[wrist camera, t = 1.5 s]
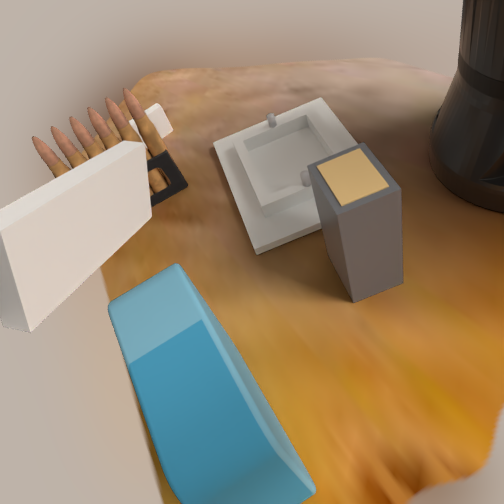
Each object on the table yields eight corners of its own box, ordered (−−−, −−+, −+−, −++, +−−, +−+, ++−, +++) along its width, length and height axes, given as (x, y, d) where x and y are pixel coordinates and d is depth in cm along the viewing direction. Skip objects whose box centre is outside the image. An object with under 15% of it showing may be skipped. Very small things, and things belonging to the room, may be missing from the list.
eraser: (137, 149, 54) (122, 124, 51) (169, 127, 55) (156, 102, 52) (141, 153, 53) (127, 128, 51) (173, 131, 54) (161, 106, 52)
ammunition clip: (183, 177, 48) (130, 79, 39) (189, 186, 47) (136, 87, 38) (96, 226, 47) (21, 137, 38) (99, 236, 46) (23, 147, 37)
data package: (184, 376, 33) (100, 293, 24) (234, 344, 34) (170, 250, 25) (257, 541, 26) (173, 508, 16) (321, 496, 26) (275, 440, 17)
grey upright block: (373, 237, 36) (363, 140, 29) (403, 282, 33) (401, 187, 25) (328, 255, 36) (306, 164, 29) (353, 303, 33) (336, 214, 26)
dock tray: (322, 103, 49) (317, 75, 47) (395, 198, 38) (394, 168, 35) (215, 148, 50) (204, 122, 47) (256, 255, 39) (245, 229, 36)
